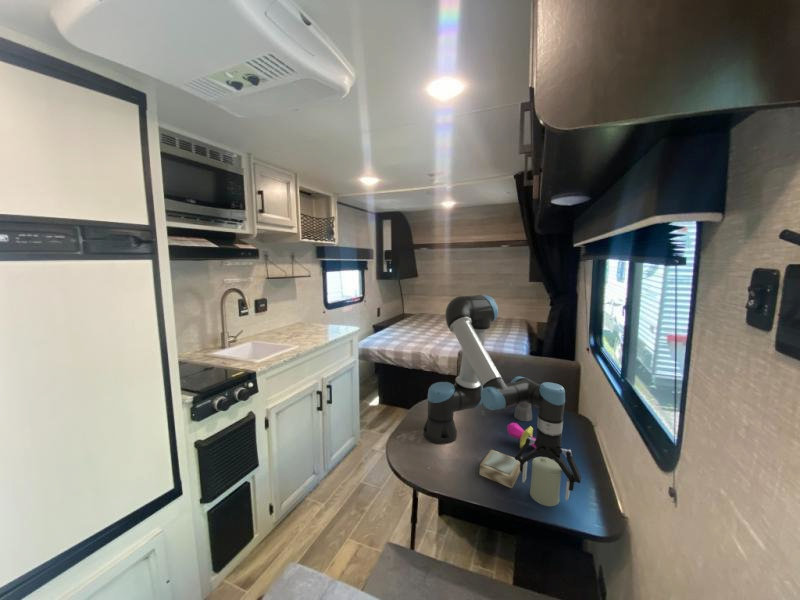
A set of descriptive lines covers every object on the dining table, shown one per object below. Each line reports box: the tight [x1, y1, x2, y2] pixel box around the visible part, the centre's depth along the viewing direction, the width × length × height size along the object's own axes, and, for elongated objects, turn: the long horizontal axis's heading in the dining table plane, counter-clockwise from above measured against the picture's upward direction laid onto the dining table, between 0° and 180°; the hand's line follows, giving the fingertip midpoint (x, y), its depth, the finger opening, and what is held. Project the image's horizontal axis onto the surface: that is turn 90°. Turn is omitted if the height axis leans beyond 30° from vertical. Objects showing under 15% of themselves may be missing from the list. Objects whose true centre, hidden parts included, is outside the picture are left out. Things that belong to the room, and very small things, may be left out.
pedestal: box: [478, 449, 522, 489], centre depth 120 cm, size 12×12×4 cm
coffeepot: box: [513, 403, 533, 422], centre depth 162 cm, size 15×9×18 cm, turn 45°
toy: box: [506, 422, 536, 449], centre depth 136 cm, size 10×18×10 cm, turn 52°
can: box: [529, 456, 563, 507], centre depth 108 cm, size 9×9×12 cm
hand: (544, 488), depth 108 cm, fingers open, 13 cm apart
